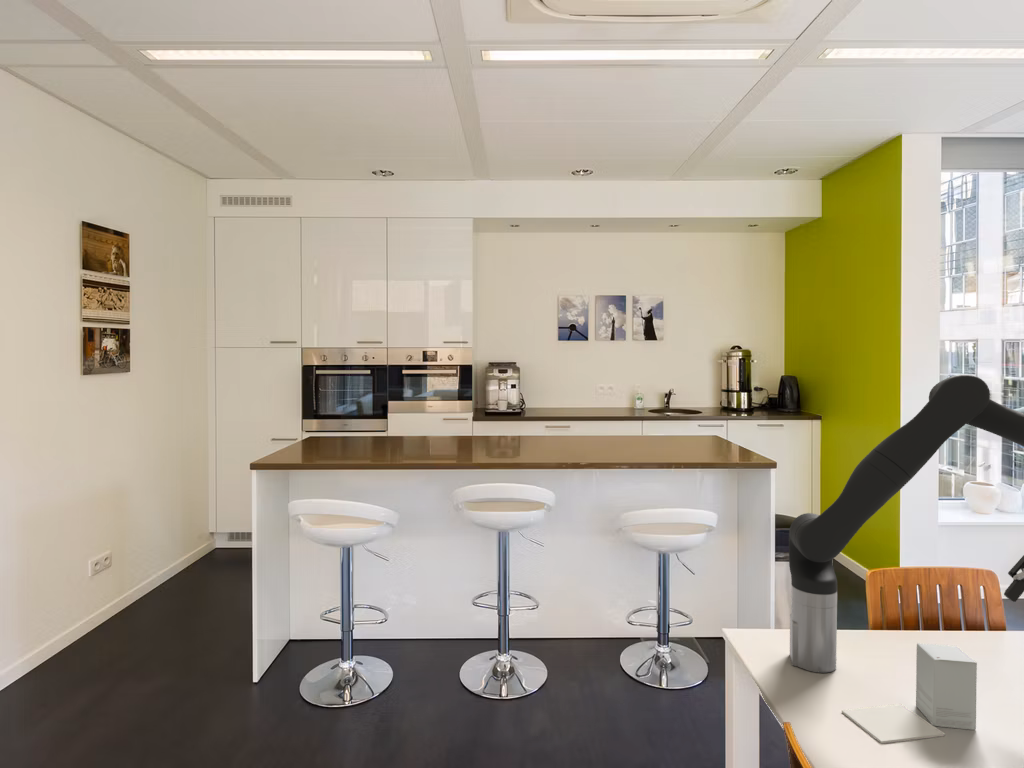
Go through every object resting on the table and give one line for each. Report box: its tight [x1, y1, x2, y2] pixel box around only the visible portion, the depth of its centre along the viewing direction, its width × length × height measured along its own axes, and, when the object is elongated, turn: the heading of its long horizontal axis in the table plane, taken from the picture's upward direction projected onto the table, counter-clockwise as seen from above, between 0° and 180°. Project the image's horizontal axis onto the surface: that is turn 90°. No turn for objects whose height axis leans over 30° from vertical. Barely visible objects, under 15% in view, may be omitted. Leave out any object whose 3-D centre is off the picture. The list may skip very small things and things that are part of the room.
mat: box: [841, 703, 946, 744], centre depth 114 cm, size 13×10×1 cm
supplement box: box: [915, 642, 978, 731], centre depth 116 cm, size 7×7×13 cm
